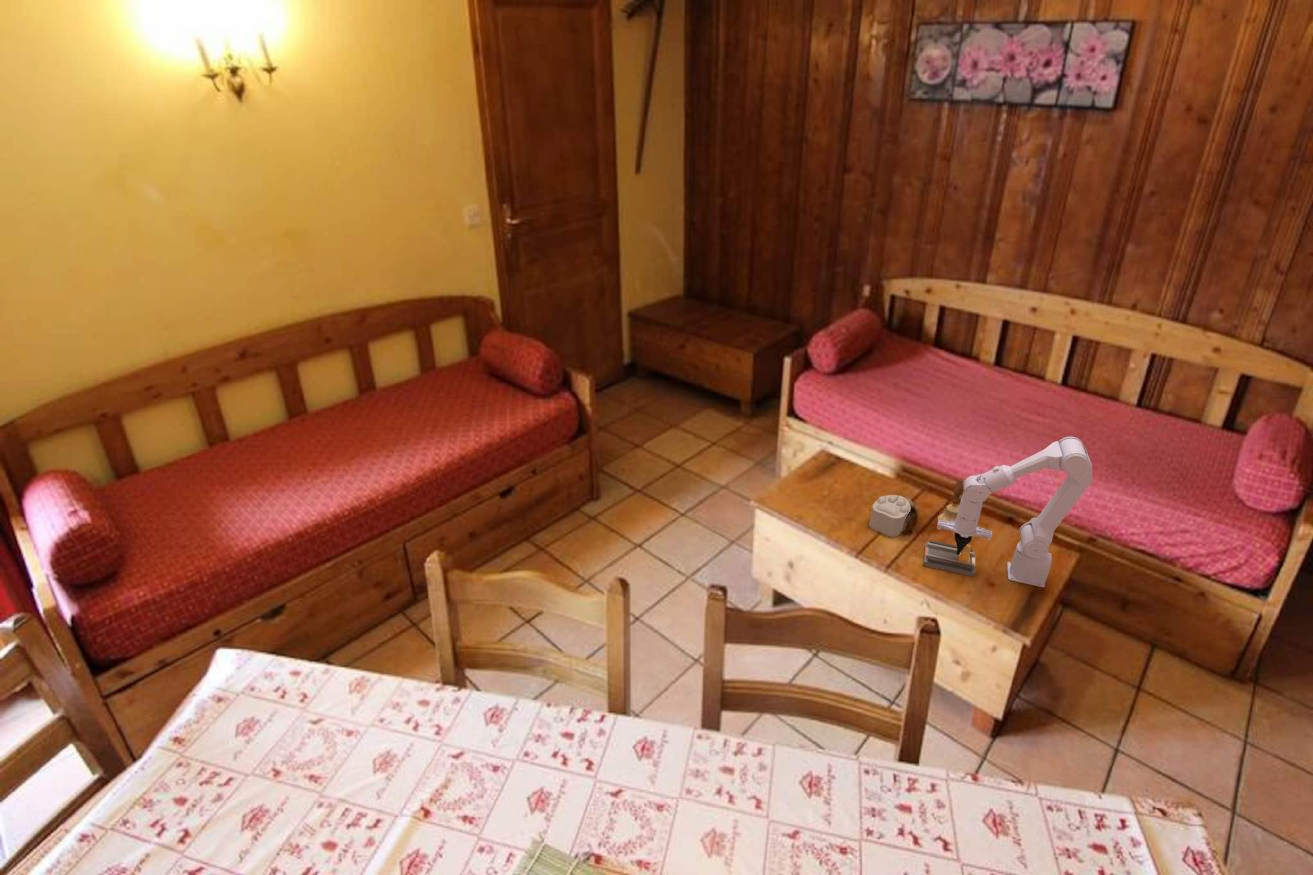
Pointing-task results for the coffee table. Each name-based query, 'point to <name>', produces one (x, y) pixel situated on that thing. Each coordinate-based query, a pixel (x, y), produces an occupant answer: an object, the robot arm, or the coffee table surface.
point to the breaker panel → (947, 558)
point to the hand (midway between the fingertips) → (958, 552)
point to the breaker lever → (965, 554)
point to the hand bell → (953, 504)
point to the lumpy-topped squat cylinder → (889, 514)
